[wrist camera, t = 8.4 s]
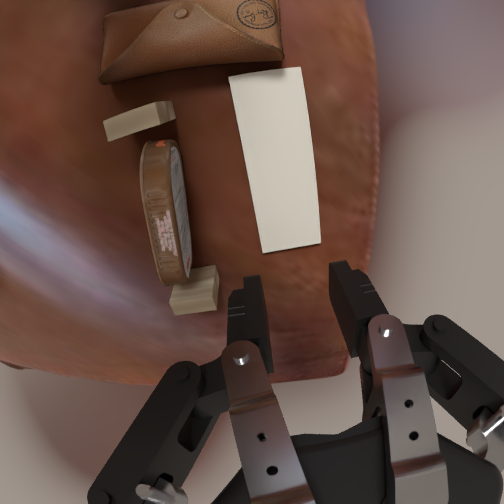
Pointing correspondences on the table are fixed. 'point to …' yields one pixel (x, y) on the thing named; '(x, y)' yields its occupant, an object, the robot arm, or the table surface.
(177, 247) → the tin
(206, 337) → the table surface
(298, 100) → the tile
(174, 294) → the tin stand
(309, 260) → the table surface
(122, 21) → the sunglasses case
